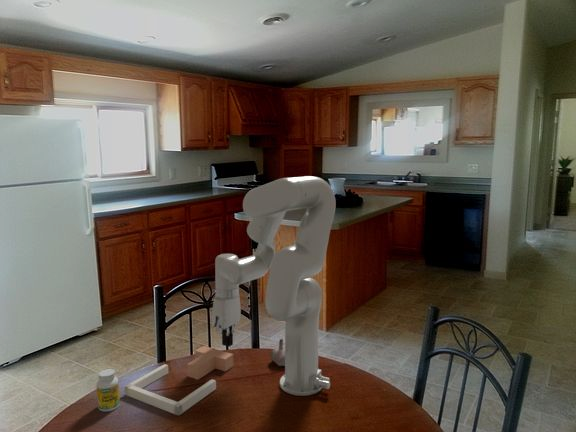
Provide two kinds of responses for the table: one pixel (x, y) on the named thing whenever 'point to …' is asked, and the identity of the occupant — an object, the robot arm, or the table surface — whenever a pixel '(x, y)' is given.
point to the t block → (209, 362)
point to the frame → (161, 402)
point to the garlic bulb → (278, 354)
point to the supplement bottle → (108, 391)
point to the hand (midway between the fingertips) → (227, 344)
